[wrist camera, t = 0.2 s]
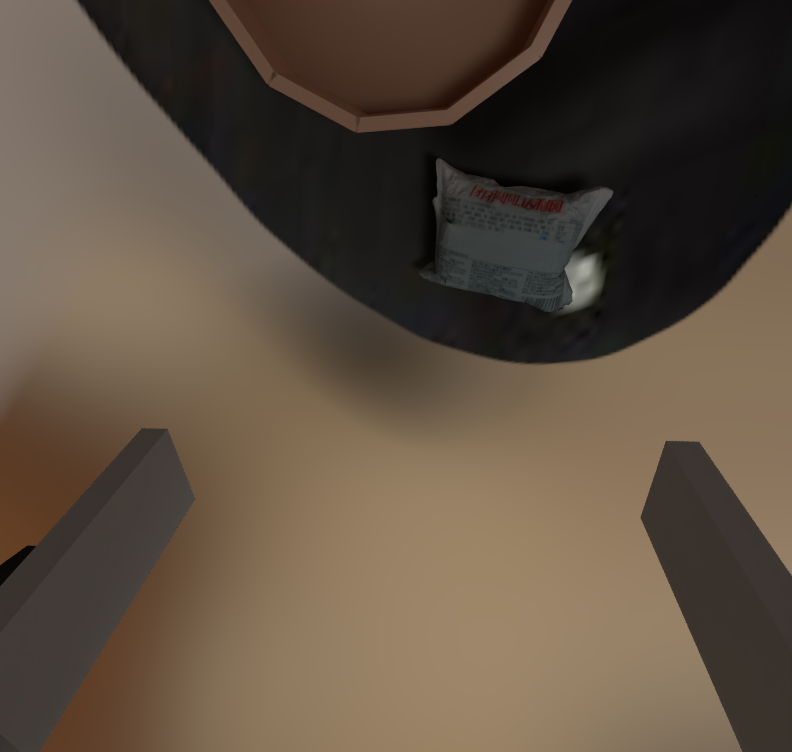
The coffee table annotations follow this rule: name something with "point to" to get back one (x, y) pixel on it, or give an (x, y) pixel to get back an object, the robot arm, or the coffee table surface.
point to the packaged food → (508, 237)
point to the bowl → (391, 53)
